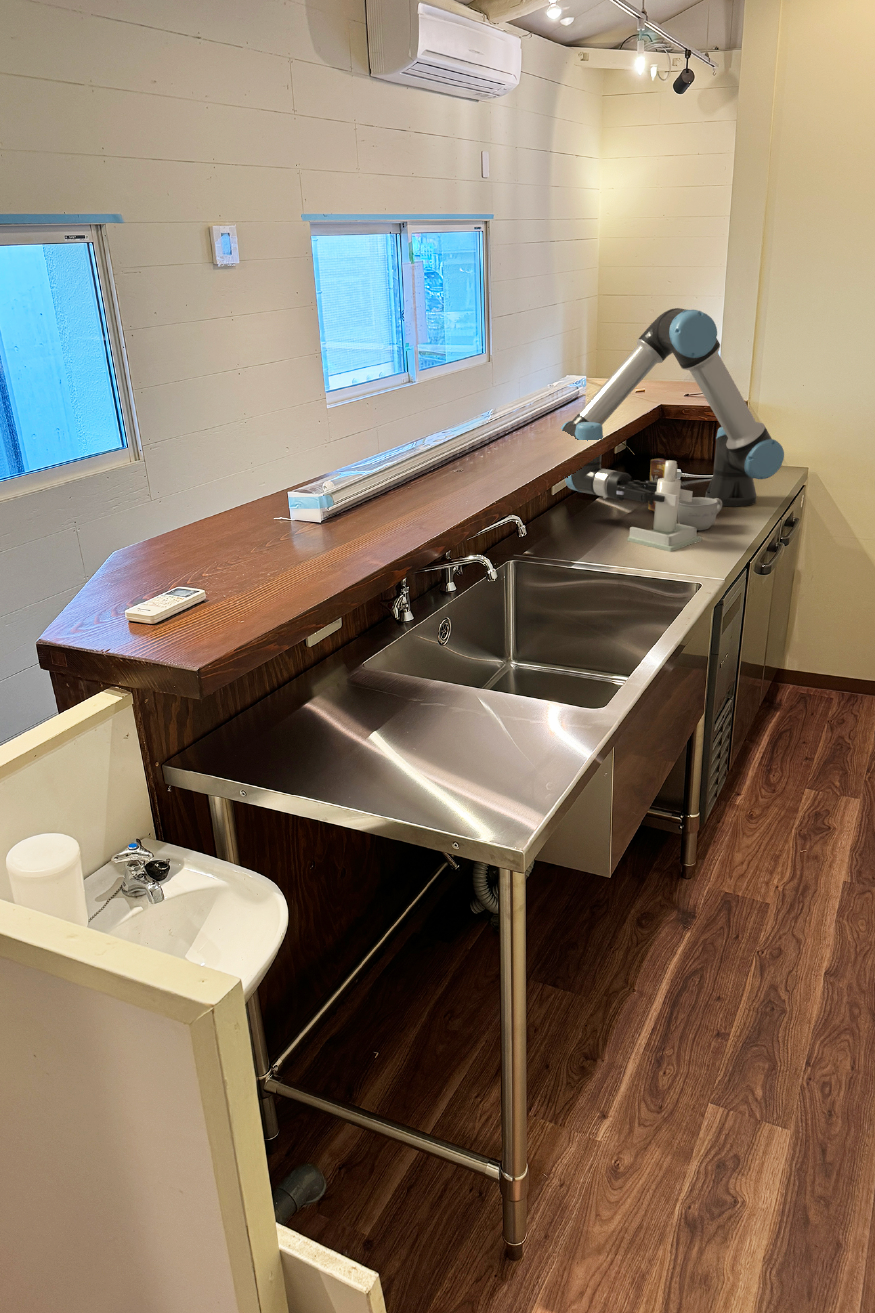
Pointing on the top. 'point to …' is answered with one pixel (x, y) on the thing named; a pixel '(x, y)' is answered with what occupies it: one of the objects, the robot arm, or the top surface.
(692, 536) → the U-rest
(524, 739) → the top surface
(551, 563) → the top surface
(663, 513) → the bottle
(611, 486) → the robot arm
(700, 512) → the teacup
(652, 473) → the candy box
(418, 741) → the top surface
